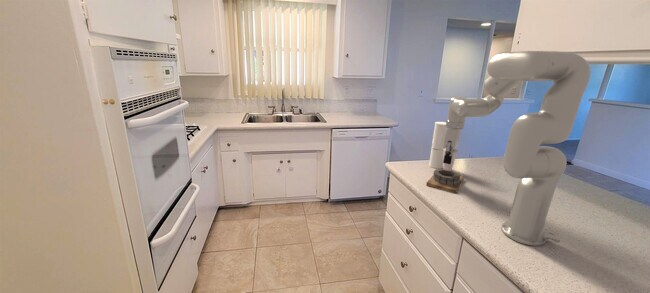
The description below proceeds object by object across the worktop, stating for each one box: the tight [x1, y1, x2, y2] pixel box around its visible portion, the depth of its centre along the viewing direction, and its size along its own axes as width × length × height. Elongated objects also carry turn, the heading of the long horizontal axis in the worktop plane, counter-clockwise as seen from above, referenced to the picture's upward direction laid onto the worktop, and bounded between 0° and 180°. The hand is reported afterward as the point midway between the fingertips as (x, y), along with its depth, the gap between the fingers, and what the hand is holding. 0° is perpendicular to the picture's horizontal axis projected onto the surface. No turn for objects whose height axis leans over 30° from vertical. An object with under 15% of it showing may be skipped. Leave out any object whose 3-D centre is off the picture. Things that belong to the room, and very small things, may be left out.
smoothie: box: [442, 148, 459, 171], centre depth 129 cm, size 6×6×14 cm
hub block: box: [426, 168, 465, 194], centre depth 133 cm, size 13×18×5 cm
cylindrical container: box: [428, 121, 447, 170], centre depth 151 cm, size 7×7×25 cm
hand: (448, 161), depth 130 cm, fingers closed on smoothie, 6 cm apart
